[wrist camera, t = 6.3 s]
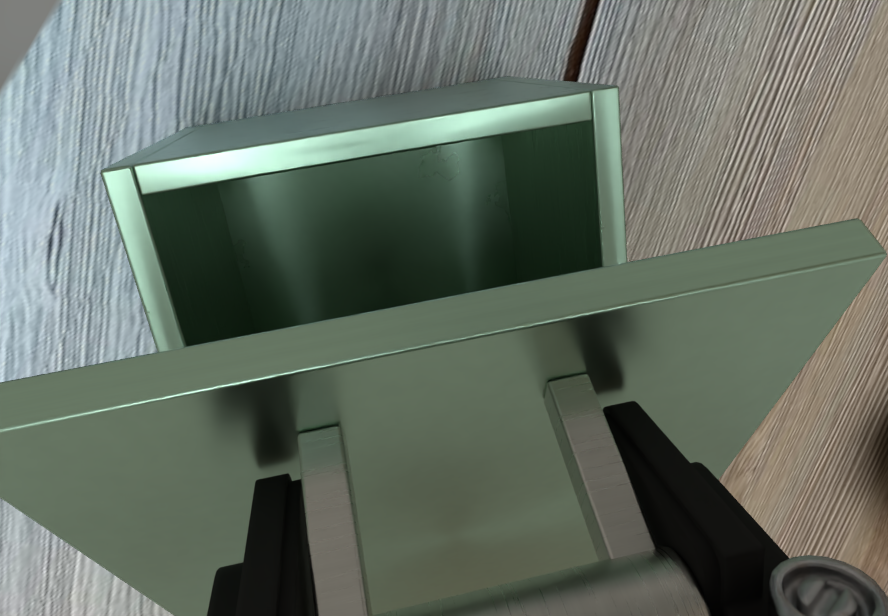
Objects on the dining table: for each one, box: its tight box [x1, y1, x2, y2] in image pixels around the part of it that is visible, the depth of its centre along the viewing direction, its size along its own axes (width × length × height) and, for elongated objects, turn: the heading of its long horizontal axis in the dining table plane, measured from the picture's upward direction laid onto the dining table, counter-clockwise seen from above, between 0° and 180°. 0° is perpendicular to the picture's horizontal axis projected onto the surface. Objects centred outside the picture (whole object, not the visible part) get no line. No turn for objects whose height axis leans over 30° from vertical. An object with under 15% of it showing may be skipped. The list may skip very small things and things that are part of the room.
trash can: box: [101, 76, 627, 352], centre depth 26 cm, size 16×14×12 cm
